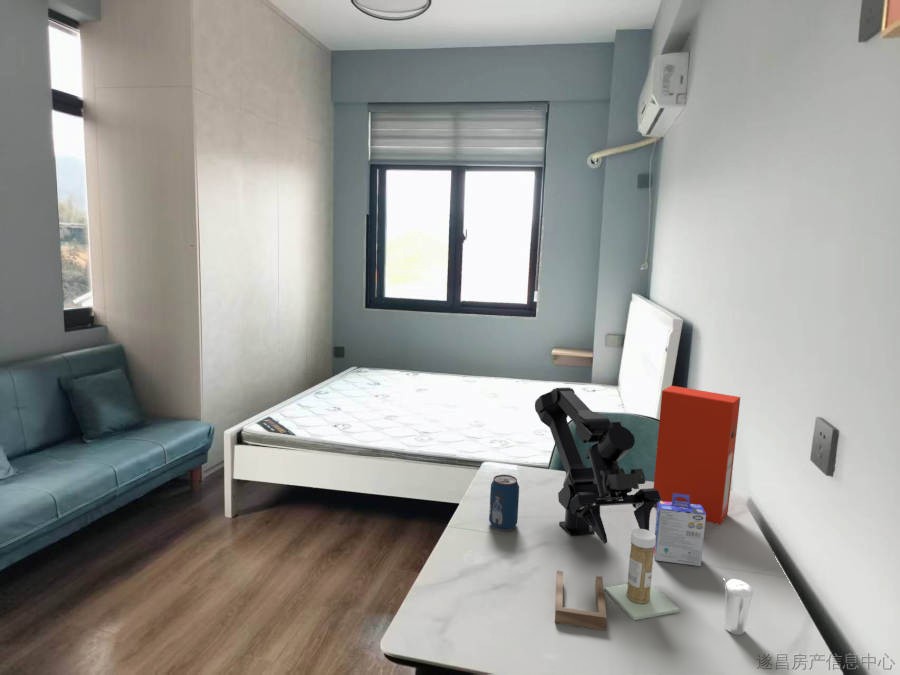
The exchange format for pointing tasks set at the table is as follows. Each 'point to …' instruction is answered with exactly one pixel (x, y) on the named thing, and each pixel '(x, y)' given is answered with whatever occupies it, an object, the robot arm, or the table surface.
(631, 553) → the sprinkles bottle
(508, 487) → the soda can
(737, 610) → the milkshake
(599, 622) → the wooden holder
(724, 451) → the red box
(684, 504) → the ink cartridge box
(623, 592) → the pad
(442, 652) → the table surface
